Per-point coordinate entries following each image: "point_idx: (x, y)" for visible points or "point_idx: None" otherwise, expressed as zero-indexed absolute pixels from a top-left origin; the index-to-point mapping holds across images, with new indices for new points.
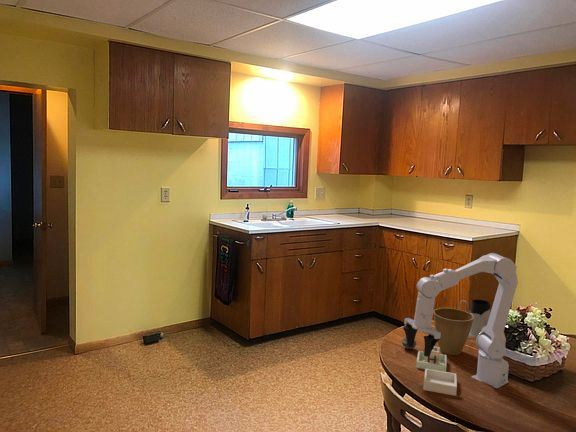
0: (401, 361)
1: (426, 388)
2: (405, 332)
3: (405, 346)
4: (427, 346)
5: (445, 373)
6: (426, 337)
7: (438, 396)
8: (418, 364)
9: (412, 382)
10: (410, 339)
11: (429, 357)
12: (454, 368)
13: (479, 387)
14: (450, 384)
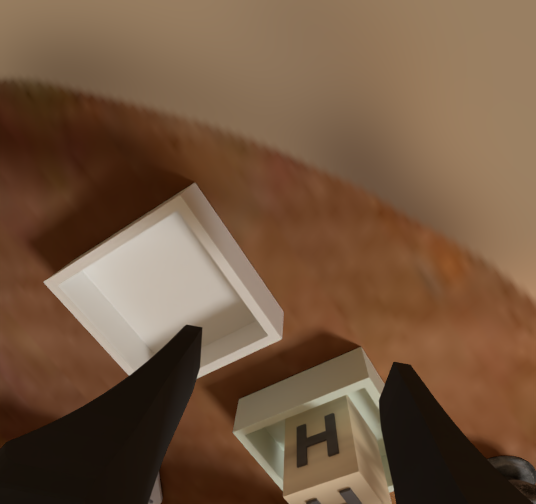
0: (466, 363)
1: (178, 193)
2: (517, 499)
3: (523, 484)
4: (113, 388)
5: None
6: (26, 489)
7: (105, 185)
8: (356, 369)
9: (284, 208)
10: (412, 441)
11: (327, 442)
12: (250, 463)
13: (84, 396)
14: (147, 325)
